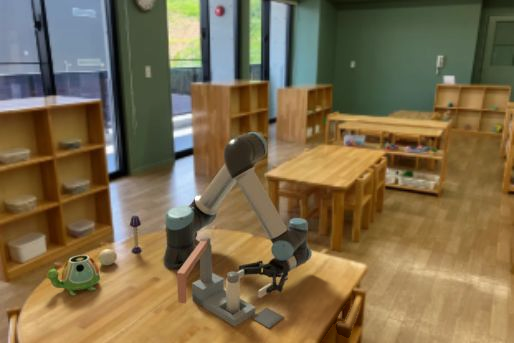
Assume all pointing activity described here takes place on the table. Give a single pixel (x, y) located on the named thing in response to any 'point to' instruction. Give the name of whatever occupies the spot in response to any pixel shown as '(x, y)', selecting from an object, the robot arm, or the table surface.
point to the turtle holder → (76, 274)
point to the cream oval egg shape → (107, 257)
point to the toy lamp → (135, 233)
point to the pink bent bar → (190, 267)
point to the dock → (216, 293)
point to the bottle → (232, 292)
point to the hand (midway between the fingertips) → (244, 286)
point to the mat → (267, 317)
